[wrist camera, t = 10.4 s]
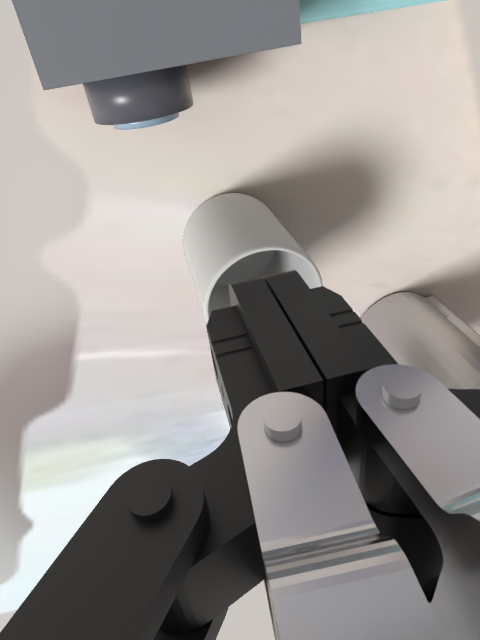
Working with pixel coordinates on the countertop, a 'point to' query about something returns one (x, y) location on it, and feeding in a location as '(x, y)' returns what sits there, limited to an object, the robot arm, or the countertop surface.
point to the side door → (349, 7)
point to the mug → (239, 248)
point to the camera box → (146, 48)
